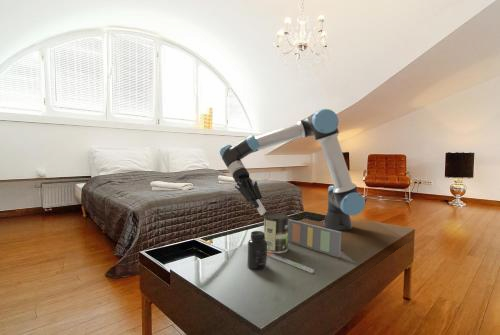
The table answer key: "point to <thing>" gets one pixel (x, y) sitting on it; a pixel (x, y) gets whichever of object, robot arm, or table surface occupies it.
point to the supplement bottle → (257, 251)
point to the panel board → (315, 237)
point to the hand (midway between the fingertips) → (263, 213)
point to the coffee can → (276, 232)
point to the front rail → (290, 262)
